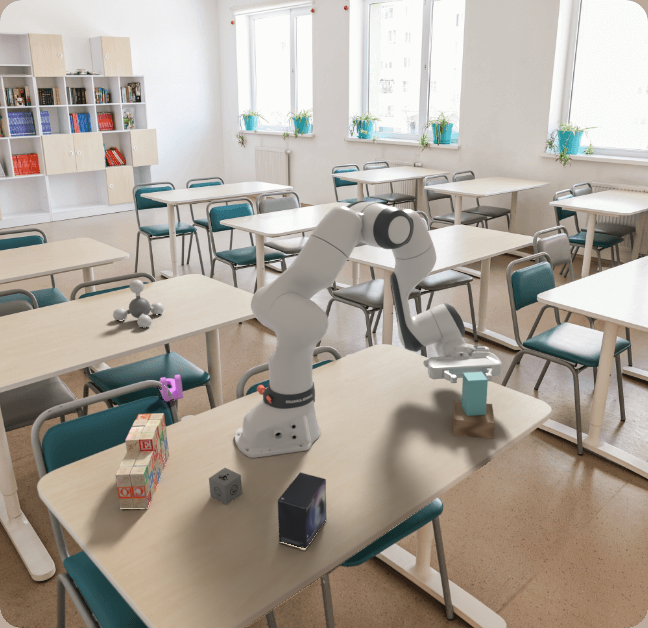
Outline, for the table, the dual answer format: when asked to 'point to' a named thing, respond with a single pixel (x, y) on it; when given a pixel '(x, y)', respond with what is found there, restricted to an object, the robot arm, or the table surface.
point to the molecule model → (139, 307)
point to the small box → (302, 510)
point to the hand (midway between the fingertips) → (471, 379)
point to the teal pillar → (474, 393)
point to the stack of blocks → (142, 461)
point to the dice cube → (225, 485)
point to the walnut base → (473, 423)
